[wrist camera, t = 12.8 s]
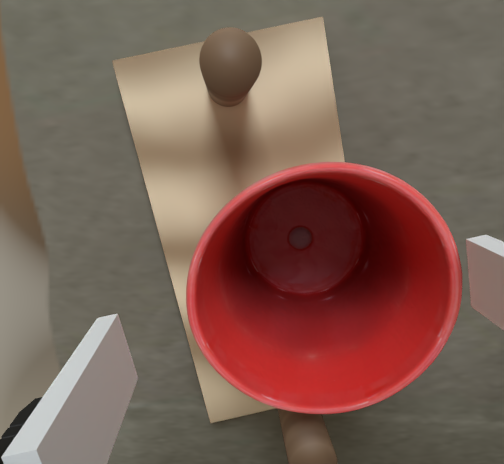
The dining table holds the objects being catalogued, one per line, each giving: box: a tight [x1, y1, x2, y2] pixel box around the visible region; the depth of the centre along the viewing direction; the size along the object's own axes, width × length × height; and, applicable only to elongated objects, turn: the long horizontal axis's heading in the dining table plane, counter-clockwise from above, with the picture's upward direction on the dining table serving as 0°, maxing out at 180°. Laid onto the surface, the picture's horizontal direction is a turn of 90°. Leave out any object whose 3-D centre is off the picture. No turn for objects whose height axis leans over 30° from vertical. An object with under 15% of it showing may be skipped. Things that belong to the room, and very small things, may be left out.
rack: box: [112, 17, 345, 464], centre depth 23 cm, size 24×12×10 cm, turn 12°
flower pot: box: [186, 162, 462, 414], centre depth 21 cm, size 11×11×10 cm
